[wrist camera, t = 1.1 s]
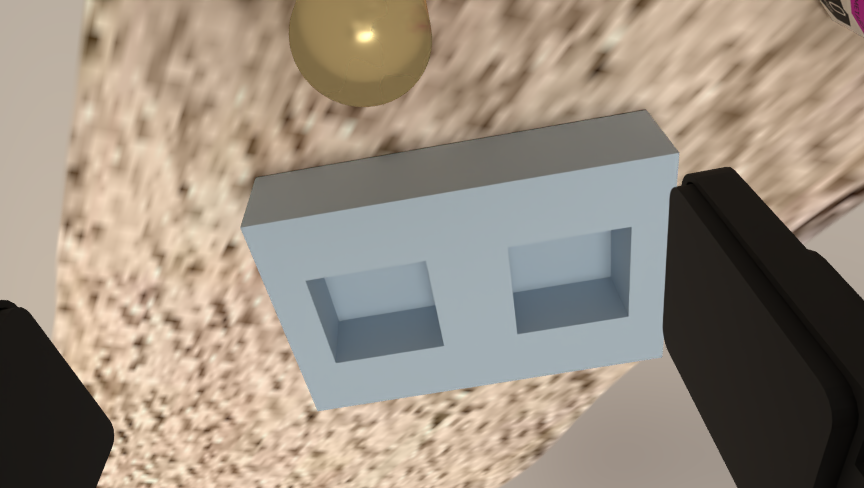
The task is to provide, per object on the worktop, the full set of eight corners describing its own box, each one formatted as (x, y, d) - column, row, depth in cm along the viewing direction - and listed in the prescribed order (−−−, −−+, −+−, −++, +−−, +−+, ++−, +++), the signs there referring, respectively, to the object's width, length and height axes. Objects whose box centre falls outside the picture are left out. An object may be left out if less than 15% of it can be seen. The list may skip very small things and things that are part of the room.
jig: (255, 177, 29) (240, 227, 26) (646, 109, 29) (679, 152, 25) (323, 354, 37) (317, 411, 33) (637, 304, 36) (662, 357, 33)
